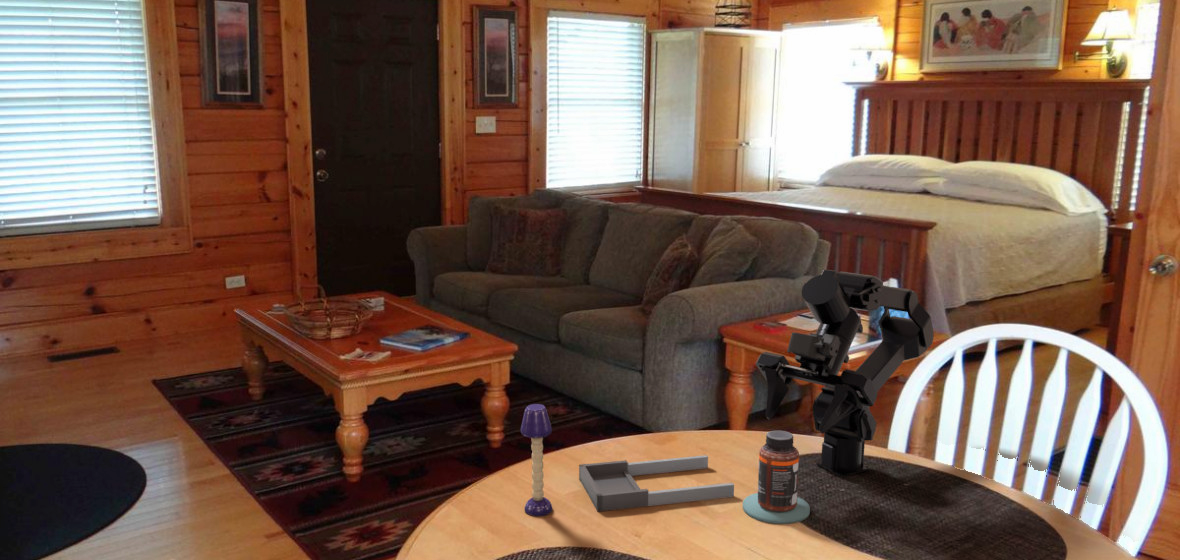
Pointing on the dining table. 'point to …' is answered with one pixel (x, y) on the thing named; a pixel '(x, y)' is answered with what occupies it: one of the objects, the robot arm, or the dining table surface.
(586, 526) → the dining table surface
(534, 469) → the toy lamp
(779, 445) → the supplement bottle
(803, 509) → the pad
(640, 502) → the trap channel
